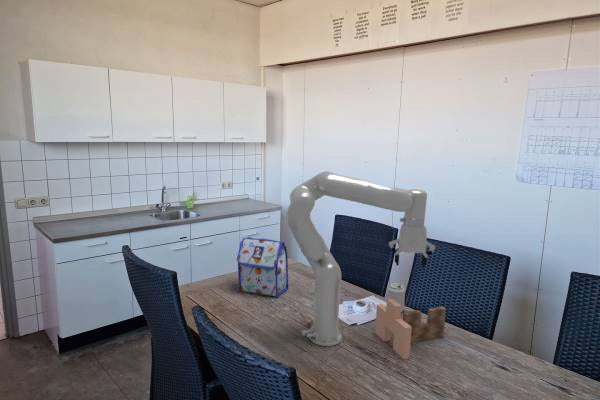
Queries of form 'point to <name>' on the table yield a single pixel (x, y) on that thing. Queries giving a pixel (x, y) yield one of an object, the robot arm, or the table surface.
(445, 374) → the table surface
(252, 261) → the lunch bag
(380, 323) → the pink notched panel
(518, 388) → the table surface
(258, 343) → the table surface
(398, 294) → the can
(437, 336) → the board
